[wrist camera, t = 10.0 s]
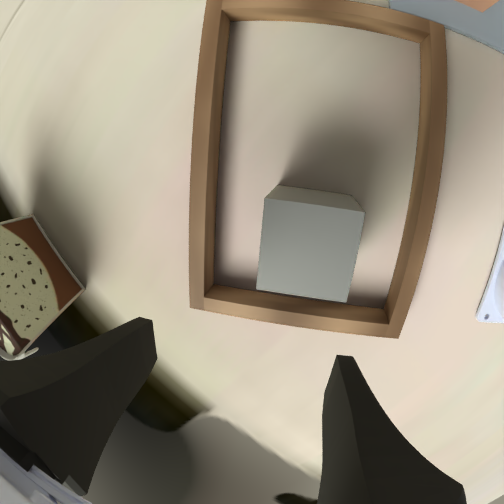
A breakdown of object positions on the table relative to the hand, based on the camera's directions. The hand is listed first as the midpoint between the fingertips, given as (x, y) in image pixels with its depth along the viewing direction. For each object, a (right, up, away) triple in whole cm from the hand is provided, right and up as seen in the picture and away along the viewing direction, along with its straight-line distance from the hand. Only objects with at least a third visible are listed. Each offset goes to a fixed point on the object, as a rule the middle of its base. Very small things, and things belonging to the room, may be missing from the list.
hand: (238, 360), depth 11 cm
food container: (-20, +3, +14) cm, 24 cm away
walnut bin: (+4, +9, +6) cm, 12 cm away
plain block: (+4, +6, +7) cm, 10 cm away
